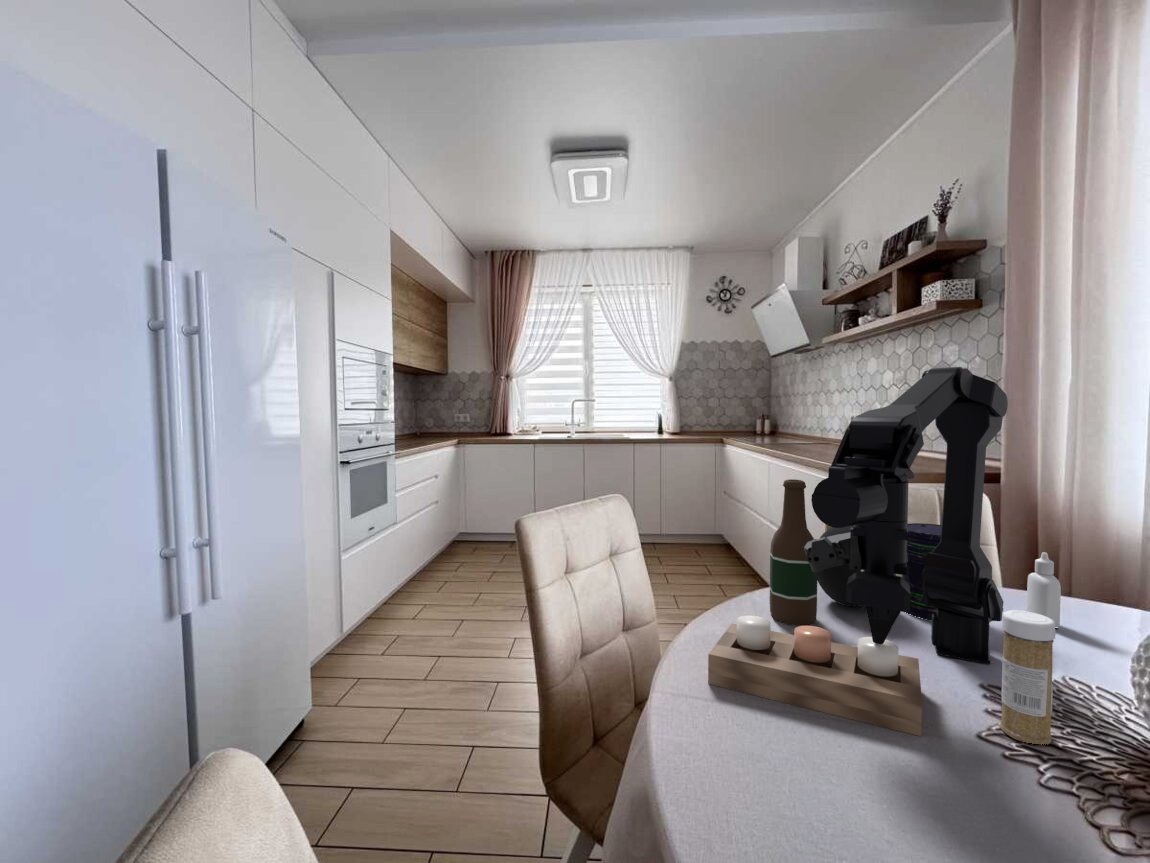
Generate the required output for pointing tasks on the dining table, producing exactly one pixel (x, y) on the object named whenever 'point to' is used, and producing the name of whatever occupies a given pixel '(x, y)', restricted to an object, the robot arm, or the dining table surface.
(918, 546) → the storage jar
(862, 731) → the dining table surface
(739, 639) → the knob
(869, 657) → the knob
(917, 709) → the knob mount
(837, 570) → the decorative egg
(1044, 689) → the sprinkles bottle
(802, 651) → the middle knob
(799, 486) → the beer bottle
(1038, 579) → the eye dropper bottle
